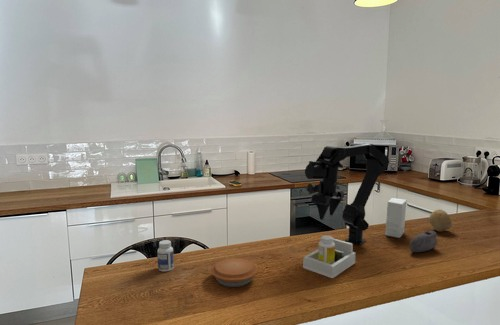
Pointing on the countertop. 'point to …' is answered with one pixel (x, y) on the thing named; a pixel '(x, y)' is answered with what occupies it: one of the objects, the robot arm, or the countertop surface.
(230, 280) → the pie
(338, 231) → the countertop surface
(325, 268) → the pusher lane
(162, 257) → the pill bottle
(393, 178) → the countertop surface
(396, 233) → the skincare box
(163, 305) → the countertop surface
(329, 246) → the supplement bottle
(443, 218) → the natural sponge
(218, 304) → the countertop surface
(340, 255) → the pusher plate
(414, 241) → the perforated stone tool
